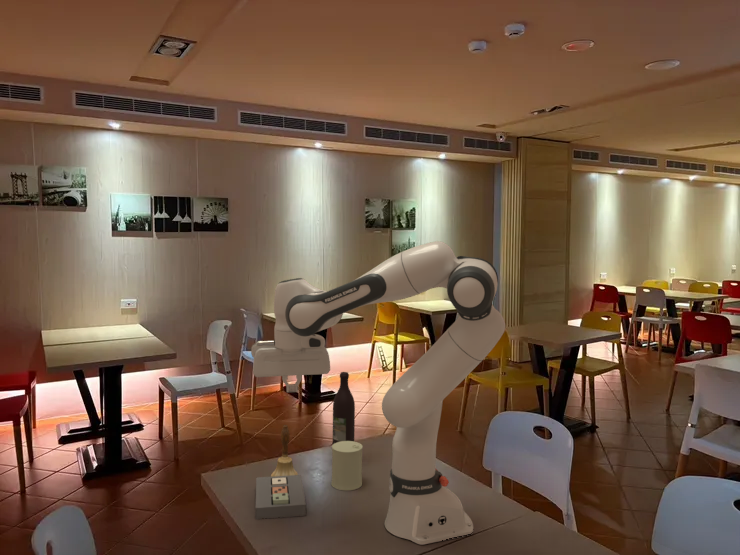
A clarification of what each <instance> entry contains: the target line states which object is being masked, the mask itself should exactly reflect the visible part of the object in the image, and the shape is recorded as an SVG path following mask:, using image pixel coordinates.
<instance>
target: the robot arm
mask: <svg viewBox="0 0 740 555" xmlns="http://www.w3.org/2000/svg"><path fill="white" fill-rule="evenodd" d="M498 276H499V275H498V272H497V270H496V268H495V266H494V265H493V264H492V262H491V263H490V261H488V260H486V259H484V258H480V257H475V256H474V257H472V256H466V255H465V256H464V255H459V256H457V257H456V255H455V252H454V251H453V249H452V248H451V246H449V245H448V244H447V243H445V242H444V241H439V240H436V241H432V242H427V243H423V244H420V245H416V246H413V247H411V248H408V249H406V250H405V249H404V250H403V251H400V252H398V253H396V254H395V255H392V256H390V257H389V258H388V259H386V260H384V261H382V262H381V263H380V264H378V265H377V266H375V267H373V268H372V269H371V270H368V271H367V272H365V273H364V274H362V275H361V276H359V277H357V278H356V279H353V280H352V281H348V282H347V283H345V284H343V285H339V286H337V287H335V288H332V289H329V290H324V289H320V288H318V287H316V286H315V285H312V284H310V283H309V282H308V281H307V280H306V279H304V278H302V277H298V278H297V277H296V278H290V279H285V280H281V281H279V282H278V283H277V284H276V286H275V289H274V298H273V299H274V300H273V314H274V317H275V324H274V327H273V328H274V330H273V331H274V335H273V336H274V337H273V338H274V340H264V341H263V340H258V341H257V342H255V343H253V344H252V345H251V348H250V351H251V353H250V354H251V357H253V365H252V374H253V376H254V377H255V378H264V377H265V378H267V377H268V378H269V377H282V378H281V379H282V382H283V383H284V385H285V387H286V393H298V392H299V390H298V389H299V388H298V386H299V385H300V383H301V381H302V380H303V376H307V375H308V376H309V375H311V376H312V375H327V374H329V373H330V371H331V360H330V359H331V358H330V355H329V352H328V349H327V348H326V346H325V345H326V339H325V338H324V337H323V336H322V335H320V334H317V333H319V332H321V331H323V330H326V329H329V328H331V327H333V326H335V325H337V324H338V323H339V322H340V321H341V320H342V317H343V315H344V314H345V313H348V312H350V311H352V310H356V309H357V308H360V307H364V306H367V305H373V304H380V303H388V302H395V301H400V300H405V299H409V298H412V297H415V296H417V295H421V294H422V293H424V292H427V291H429V290H432V289H437V288H444V289H446V292H447V296H448V300H449V302H450V303H451V304H452V306H453V308H454V309H455V310H456V312H457V313H458V317H457V319H456V320H455V321H454V322H453V323H451V325H450V326H449V327H448V328H447V329H446V331H444V333H443V334H442V335H441V336H440V337H439V338H437V340H436V341H435V342H434V344H432V345H431V347H430V348H429V349H428V350H427V351H426V352H425V353H424V354H422V355H421V356H420V357H419V359H417V361H415V362H414V363H413V364H412V365H411V366H410V367H409V368H408V369H407V370H406V371H405V372H404V373H402V375H401V376H400V377H398V379H397V380H396V381H395V382H394V383H393V384H392V385H391V386H390V387H389V389H388V390H387V391H386V392H385V394H384V396H383V398H382V401H381V410H382V413H383V417H384V419H385V420H386V421H387V422H388V423H389V424H390V425H391V426H392V425H393V427H396V429H395V432H394V435H393V438H392V442H391V444H392V446H391V447H392V449H391V450H392V452H391V454H392V458H391V469H390V471H389V472H390V473H389V482H388V483H389V493H390V496H389V497H390V498H389V503H388V508H387V514H386V516H385V519H384V527H385V529H386V530H387V531H388V532H389V533H390V534H392V535H394V536H395V537H397V538H402V539H406V540H408V541H412V542H413V543H415V544H418V545H421V546H422V545H427V544H432V543H437V542H442V540H443V541H447V540H446V539H448V540H450V539H449V538H452V537H457V536H460V535H466V534H469V533H472V532H473V533H474V530H473V529H474V523H473V521H472V519H471V517H470V516H469V514H467V513H466V512H465V510H464V507H463V504H462V501H461V500H460V498H459V497H458V496H457V495H456V494H455V493H454V492H453V491H452V490H450V489H449V488H448V486H449V484H450V483H449V479H447V478H448V477H446V476H444V475H443V473H441V471H439V470H438V469H437V468H436V466H437V465H436V464H437V463H436V461H437V460H436V459H437V457H436V456H437V439H438V433H439V428H440V424H441V423H440V422H441V418H442V417H441V416H442V409H443V401H444V399H446V397H448V396H449V395H450V394H451V393H452V391H454V390H455V389H456V388H457V387H458V386H459V385H460V384H461V383H462V382H463V381H464V380H465V379H466V378H467V377H468V376H469V374H471V373H472V372H473V371H474V369H476V367H478V365H480V363H482V362H483V360H484V359H485V358H486V357H487V356H488V355H490V354H489V353H491V351H493V349H494V348H495V346H496V345H497V344H498V342H499V341H500V340H501V338H502V336H503V334H504V333H505V330H506V323H505V319H504V317H503V315H502V313H501V312H500V311H499V310H498V309H496V308H495V306H494V304H493V303H494V299H495V296H496V294H497V290H498V284H499V277H498ZM289 376H295V378H296V381H295V383H292V384H290V383H289V382H288V377H289ZM469 526H470V527H469ZM473 533H472V534H473ZM457 538H458V537H457ZM452 539H453V538H452Z"/></svg>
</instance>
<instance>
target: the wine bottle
mask: <svg viewBox="0 0 740 555" xmlns="http://www.w3.org/2000/svg"><path fill="white" fill-rule="evenodd" d="M349 376H350V373H349V372H348V371H341V372H340V373H339V378H340V380H339V381H340V384H339V388H338V390H337V392H336V393H335V396H334V398H333V402H332V445H333V444H335V443H337V442H341V441H354V442H355V430H356V429H355V425H356V424H355V422H356V421H355V419H356V413H355V412H356V405H355V399H354V396H353V393H352V392H351V389H350V387H349V378H350V377H349Z"/></svg>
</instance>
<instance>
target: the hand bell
mask: <svg viewBox="0 0 740 555" xmlns="http://www.w3.org/2000/svg"><path fill="white" fill-rule="evenodd" d="M281 429H282V430H281V432H280V440H281V445H282V448H281V449H282V452H281V454H282V455H281V457H278V458H277V461H276V462H277V463H276V468H275V469H274V471H273V472H272V473H271V475H270V477H273V476H289V475H299V473H298V472H297V471H296V470H295V467H294V464H293V458H291V457H290V456H289V451H288V449H289V447H288V446H289V443H290V430H289V427H288V425H287V424H284V425H283V426H282V428H281Z"/></svg>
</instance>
